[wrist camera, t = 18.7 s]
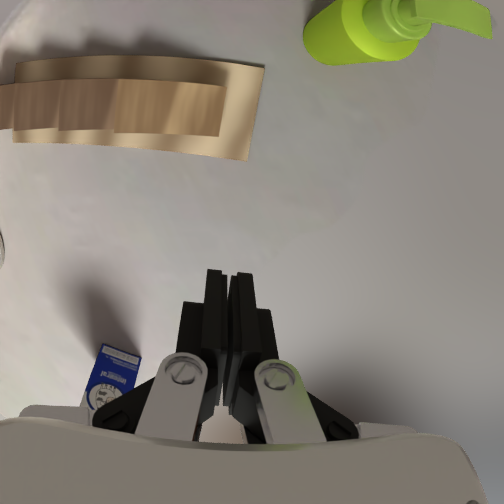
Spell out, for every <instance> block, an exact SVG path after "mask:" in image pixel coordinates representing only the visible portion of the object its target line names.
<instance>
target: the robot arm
mask: <svg viewBox="0 0 504 504" xmlns="http://www.w3.org/2000/svg"><path fill="white" fill-rule="evenodd" d="M3 261H4V247H3V242H2V238H1V235H0V268H1V267H2V264H3ZM222 383H223V406H229V415H232V416H233V417H234V418H235V419H236V420H237V421H239V422H240V430H241V435H242V439H243V443H244V444H225V443H208V442H199V438H200V433H201V429H202V423H203V422H204V421H206V420H207V419H209V418H210V417H211V416H213V413H214V407H215V405H216V406H218V405H219V400H220V394H221V388H222ZM0 504H488V501H487V498H486V495H485V493H484V490H483V488H482V485H481V483H480V480H479V478H478V476H477V473H476V471H475V469H474V467H473V465H472V463H471V461H470V459H469V457H468V456H467V454H466V453H465V451H464V450H463V448H462V447H461V446H460V445H459V444H458V443H457V442H455V441H454V440H451V439H449V438H447V437H443V436H439V435H434V434H427V433H418V432H417V431H416V430H414V429H413V428H411V427H408V426H400V425H386V424H374V423H365V422H360V423H359V424H358V425H357V424H354V423H353V422H352V421H351V420H349V419H348V418H346V417H345V416H343V415H342V414H340V413H339V412H337V411H336V410H334V409H333V408H331V407H330V406H328V405H327V404H325V403H324V402H322V401H320V400H319V399H318V398H316V397H315V396H313V395H312V394H310V393H309V392H307V391H306V389H305V387H304V384H303V382H302V380H301V377H300V375H299V373H298V371H297V369H296V368H295V367H293V366H292V365H291V364H289V363H287V362H285V361H282V360H279V356H278V351H277V345H276V339H275V333H274V328H273V321H272V316H271V311H270V310H269V309H258V308H256V300H255V291H254V283H253V275H252V274H251V273H241V272H238V273H237V276H233V275H232V276H231V281H230V287H229V294H228V300H227V275H223V274H222V270H212V269H207V278H206V288H205V298H204V303H195V302H186V301H184V302H183V308H182V314H181V320H180V327H179V333H178V340H177V347H176V353H174V354H171V355H169V356H167V357H166V358H165V359H163V361H162V363H161V364H160V366H159V369H158V372H157V374H156V376H155V377H154V378H152V379H150V380H148V381H146V382H145V383H143V384H141V385H139V386H137V387H136V388H134V389H132V390H130V391H128V392H127V393H125V394H123V395H121V396H119V397H117V398H115V399H114V400H112V401H110V402H108V403H106V404H104V405H102V406H101V407H100V408H98V409H97V410H89V409H88V407H70V406H47V405H30V406H28V407H26V408H24V409H23V410H22V412H21V413H20V415H19V417H17V418H9V419H5V420H2V421H0Z"/></svg>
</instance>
